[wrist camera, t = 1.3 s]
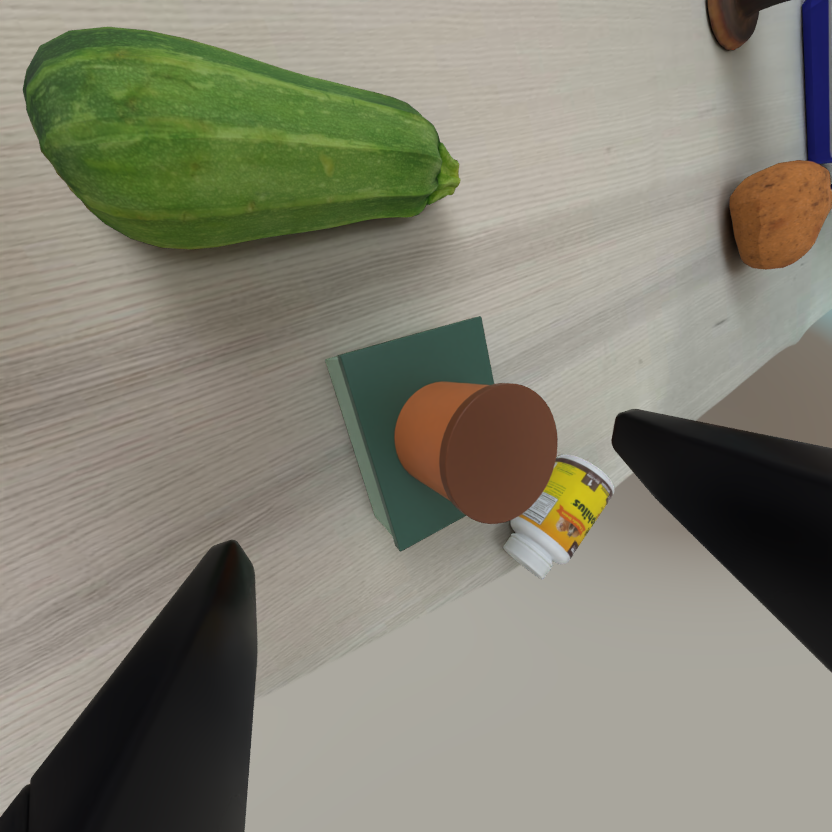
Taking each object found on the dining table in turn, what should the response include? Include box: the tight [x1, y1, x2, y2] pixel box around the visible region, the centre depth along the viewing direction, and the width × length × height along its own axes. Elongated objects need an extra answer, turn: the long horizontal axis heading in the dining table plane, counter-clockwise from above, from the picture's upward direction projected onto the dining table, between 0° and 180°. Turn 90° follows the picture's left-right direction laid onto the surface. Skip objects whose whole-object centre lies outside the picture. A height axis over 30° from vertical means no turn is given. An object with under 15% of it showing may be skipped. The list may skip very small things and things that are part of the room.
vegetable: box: [23, 27, 460, 250], centre depth 17 cm, size 7×7×20 cm
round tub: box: [395, 382, 557, 524], centre depth 19 cm, size 7×7×6 cm
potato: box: [729, 160, 832, 269], centre depth 39 cm, size 9×11×8 cm
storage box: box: [325, 316, 494, 551], centre depth 24 cm, size 12×9×5 cm
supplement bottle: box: [503, 455, 614, 579], centre depth 31 cm, size 6×6×10 cm
